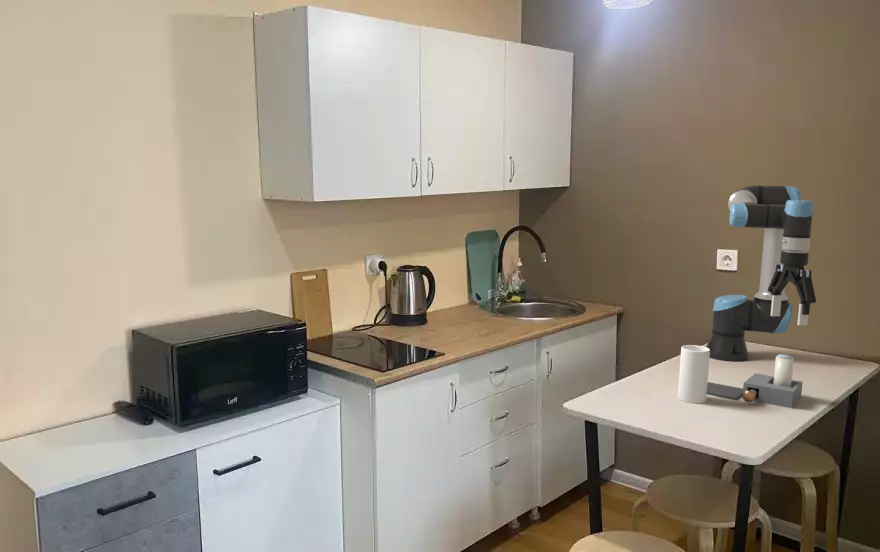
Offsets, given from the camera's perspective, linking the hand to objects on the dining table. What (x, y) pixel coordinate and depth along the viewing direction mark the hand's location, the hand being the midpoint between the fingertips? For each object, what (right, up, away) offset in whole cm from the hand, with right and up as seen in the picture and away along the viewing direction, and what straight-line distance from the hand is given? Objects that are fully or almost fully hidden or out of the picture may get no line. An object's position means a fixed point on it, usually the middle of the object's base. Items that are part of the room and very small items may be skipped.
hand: (788, 320), depth 221 cm
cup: (-29, -24, +1) cm, 38 cm away
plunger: (-11, -24, +1) cm, 26 cm away
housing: (-3, -24, +4) cm, 25 cm away
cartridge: (-1, -24, +4) cm, 25 cm away
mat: (-17, -23, +9) cm, 30 cm away
